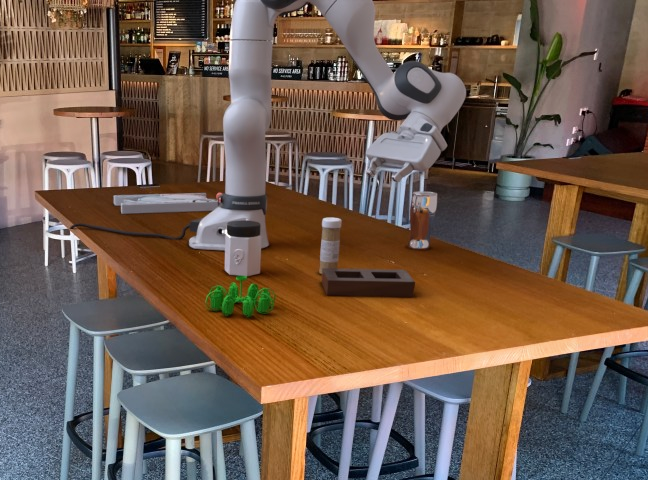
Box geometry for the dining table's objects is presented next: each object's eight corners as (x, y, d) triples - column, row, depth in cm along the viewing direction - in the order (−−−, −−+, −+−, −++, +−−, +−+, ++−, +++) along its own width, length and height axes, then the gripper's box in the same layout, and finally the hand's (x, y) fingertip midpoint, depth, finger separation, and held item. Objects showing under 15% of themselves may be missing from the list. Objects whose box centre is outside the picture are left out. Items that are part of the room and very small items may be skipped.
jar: (220, 274, 192) (221, 225, 187) (228, 267, 199) (230, 219, 195) (256, 277, 189) (258, 227, 185) (263, 269, 197) (265, 221, 192)
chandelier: (255, 324, 156) (256, 290, 154) (191, 312, 163) (191, 279, 161) (288, 306, 168) (290, 274, 165) (227, 295, 175) (227, 264, 173)
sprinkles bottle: (330, 270, 196) (334, 216, 191) (341, 275, 193) (345, 219, 188) (314, 272, 195) (318, 217, 189) (325, 276, 191) (329, 221, 186)
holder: (413, 297, 175) (415, 281, 174) (326, 295, 176) (328, 280, 174) (403, 284, 185) (404, 269, 184) (321, 282, 186) (322, 268, 184)
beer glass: (432, 251, 218) (439, 195, 212) (406, 249, 219) (412, 194, 213) (430, 245, 224) (437, 191, 218) (405, 244, 225) (411, 190, 219)
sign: (220, 210, 273) (206, 200, 291) (220, 201, 272) (206, 192, 290) (121, 213, 266) (113, 203, 284) (121, 204, 264) (113, 195, 282)
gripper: (381, 121, 199) (347, 163, 198) (440, 127, 182) (403, 173, 182) (393, 139, 202) (360, 180, 202) (452, 147, 186) (416, 192, 185)
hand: (381, 177), depth 192 cm, fingers open, 8 cm apart
